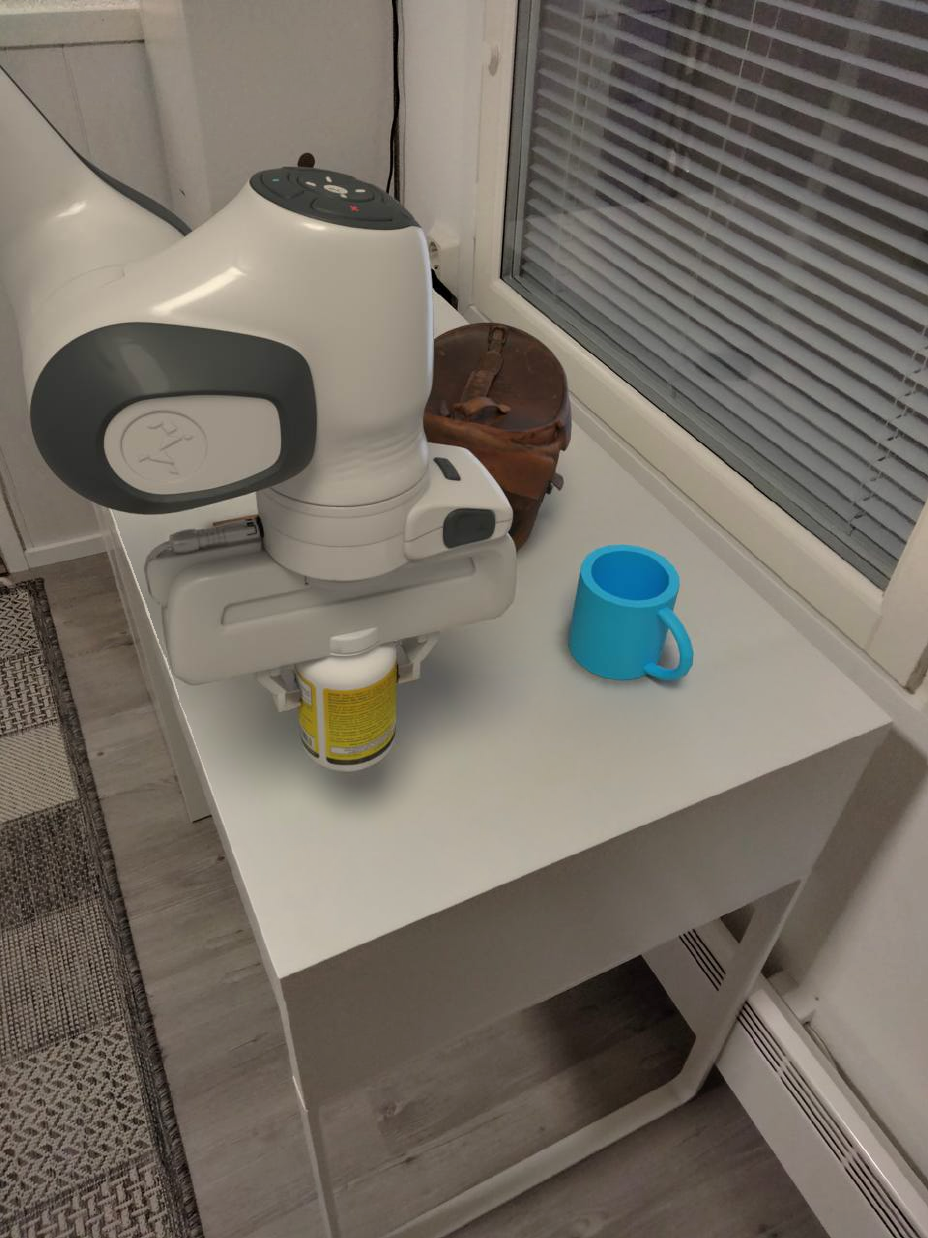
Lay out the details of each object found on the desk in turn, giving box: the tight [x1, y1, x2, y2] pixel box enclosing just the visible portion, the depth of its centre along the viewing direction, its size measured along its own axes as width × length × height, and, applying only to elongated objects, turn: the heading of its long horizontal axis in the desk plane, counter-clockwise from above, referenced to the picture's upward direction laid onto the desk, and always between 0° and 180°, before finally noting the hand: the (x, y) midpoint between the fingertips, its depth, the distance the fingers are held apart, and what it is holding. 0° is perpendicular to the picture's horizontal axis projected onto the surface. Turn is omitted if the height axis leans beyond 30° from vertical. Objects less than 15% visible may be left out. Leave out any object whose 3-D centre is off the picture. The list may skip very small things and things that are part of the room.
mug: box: [567, 544, 695, 681], centre depth 79 cm, size 12×8×8 cm
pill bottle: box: [293, 628, 397, 773], centre depth 58 cm, size 6×6×11 cm
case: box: [423, 322, 573, 551], centre depth 89 cm, size 18×20×18 cm
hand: (347, 688), depth 59 cm, fingers closed on pill bottle, 6 cm apart
